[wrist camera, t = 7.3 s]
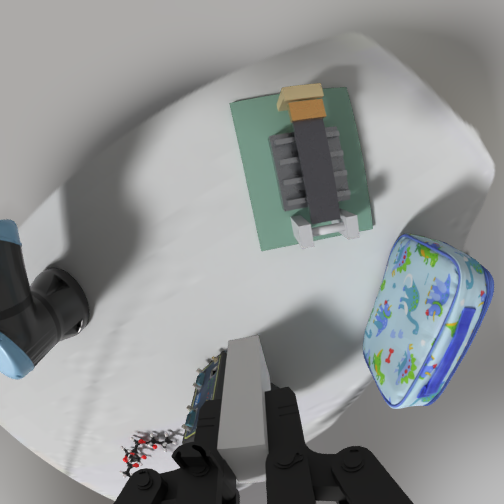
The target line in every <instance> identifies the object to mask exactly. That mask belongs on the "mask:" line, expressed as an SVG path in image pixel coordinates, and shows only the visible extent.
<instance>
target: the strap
mask: <svg viewBox="0 0 504 504" xmlns="http://www.w3.org/2000/svg"><path fill="white" fill-rule="evenodd" d="M287 109H288V113H289V117H290V122H291V123H292V127H293V132H294V136H295V141H296V146H297V150H298V155H299V160H300V165H301V170H302V175H303V181H304V186H305V192H306V197H307V203H308V209H309V215H310V221H311V224H317V223H322V222H327V221H333V220H338V219H341V216H340V209H339V202H338V196H337V190H336V183H335V177H334V172H333V166H332V161H331V155H330V150H329V145H328V140H327V135H326V131H325V126H324V122H323V118H325V117H326V112H325V108H324V104H323V100H322V99H315V100H306V101H298V102H291V103H288V104H287Z"/></svg>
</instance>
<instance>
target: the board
mask: <svg viewBox="0 0 504 504" xmlns="http://www.w3.org/2000/svg"><path fill="white" fill-rule="evenodd" d="M315 99H322V100H323V104H324V108H325V112H326V117H325V118H323V122H324V126H325V127H334V126H337V130H338V131H339V134H340V136H339V139H340V144H341V149H342V150H343V154H344V155H343V159H344V164H345V170H347V175H346V176H347V181H348V187H349V190H350V193H351V195H350V200H344V201H339V209H340V216H341V219H338V220H333V221H327V222H322V223H317V224H311V221H310V215H309V209H308V207H306V208H301V209H295V210H290V211H284V210H283V209H282V205H281V200H280V195H279V190H278V185H277V180H276V175H275V170H274V166H273V161H272V156H271V151H270V147H269V142H268V138H269V136H272V135H278V134H284V133H290V132H293V127H292V123H291V122H290V117H289V113H288V109H287V104H288V103H291V102H298V101H306V100H315ZM230 108H231V112H232V117H233V121H234V126H235V131H236V135H237V140H238V144H239V149H240V153H241V158H242V163H243V167H244V172H245V176H246V181H247V186H248V190H249V195H250V200H251V204H252V209H253V214H254V219H255V223H256V228H257V233H258V238H259V242H260V247H261V251H265V250H270V249H275V248H280V247H285V246H290V245H295V244H300V246H301V248H302V249H305V248H310V247H314V241H315V240H320V239H325V238H330V237H335V236H340V235H343V236H345V237H346V238H347V239H354V238H359V237H360V235H359V232H360V231H365V230H370V229H373V226H372V217H371V209H370V201H369V194H368V187H367V181H366V174H365V169H364V163H363V157H362V152H361V147H360V142H359V137H358V133H357V128H356V124H355V119H354V115H353V111H352V107H351V103H350V99H349V95H348V92H347V88H346V87H340V88H326V89H322V86H321V83H317V84H307V85H298V86H290V87H283V88H282V89H281V92H280V94H276V95H270V96H264V97H258V98H253V99H248V100H243V101H238V102H233V103H230Z"/></svg>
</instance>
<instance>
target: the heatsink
mask: <svg viewBox="0 0 504 504" xmlns="http://www.w3.org/2000/svg"><path fill="white" fill-rule="evenodd" d="M325 131H326V135H327V140H328V145H329V150H330V155H331V161H332V166H333V172H334V177H335V183H336V190H337V196H338V202H339V201H344V200H350V195H351V193H350V190H349V187H348V181H347V176H346V175H347V170H345V164H344V159H343V155H344V154H343V150H342V149H341V144H340V139H339V136H340V134H339V131H338V130H337V126H334V127H325ZM268 142H269V147H270V151H271V156H272V161H273V166H274V170H275V175H276V180H277V185H278V190H279V195H280V200H281V205H282V209H283V210H284V211H290V210H295V209H301V208H306V207H308V203H307V197H306V192H305V186H304V181H303V175H302V170H301V165H300V160H299V155H298V150H297V146H296V141H295V136H294V132H290V133H284V134H278V135H272V136H269V138H268Z"/></svg>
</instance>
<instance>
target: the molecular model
mask: <svg viewBox="0 0 504 504" xmlns="http://www.w3.org/2000/svg"><path fill="white" fill-rule="evenodd" d="M150 435H151V441H149V442H146V441H143V440H142V439H140V440H139V441H136V440H135V439H134V438H133V437H131V440H133V441H134V442H135V444H136V445H135V448H134V449H133V450H130V449H127V450H126V449H125V448H124V447H123V446H121V447H120V448H121V449H123V450H124V451H125V453H126V455H125V458H123V461H124V462H126V463H127V464H128V465H127V466H128V469H127V471H125V472H123V471H120V473H121V474H124V475H123V477H124V478H125V477H126V476H129V477H131V476H132V475H133V474H132V473H131V474H130V473H129V471H130V469H131V468H133V467H139V464H140V465H141V466H142V465H143V464H142V463H141V461H140V458H143V459H146V458H147V457H146V456H145V455H143V454H139V453H138V451H137V447H138V445H140V444H143V443H145V444H148V446H152V447H153V448H154V449H156V448H157V445H154V444H156V443H157V444H161V445H162V446H163V448H164V451H165V452H167V449H166V445H167V444H169V443H172V444H177V442H176V441H171V440H170V439H169V438H168V433H165V438H166V439H165V441H162V442H159V441H156V440H155V439H154V436H153V433H151V434H150ZM128 454H129V455H130V457H128ZM130 459H131V460H130ZM129 460H130V461H129ZM128 461H129V462H128ZM132 462H136V463H135V464H131V463H132ZM138 462H139V464H138Z"/></svg>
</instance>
